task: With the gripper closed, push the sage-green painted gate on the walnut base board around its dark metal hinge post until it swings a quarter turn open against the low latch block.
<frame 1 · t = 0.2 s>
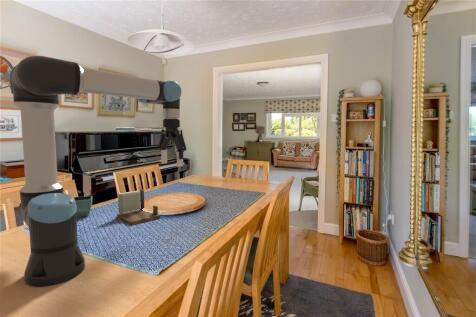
hand: (171, 164, 122), 28 cm above the table, tool pointing down, fingers open, 13 cm apart
gate: (129, 201, 134), point 7 cm above the table, hinge at 0.0°
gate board: (138, 217, 132), on the table
flower pot: (82, 215, 133), on the table
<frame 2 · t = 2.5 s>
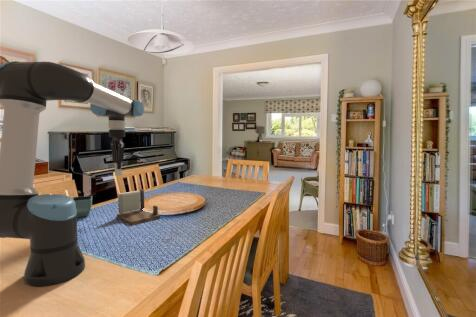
hand: (118, 175, 135), 20 cm above the table, tool pointing down, fingers closed
nothing on the table moved.
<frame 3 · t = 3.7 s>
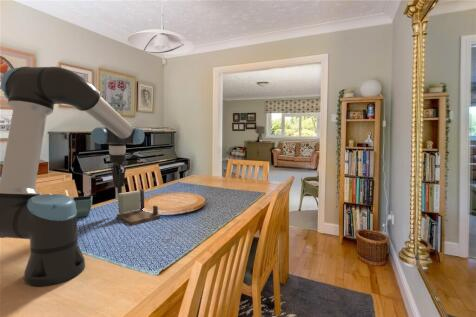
hand: (119, 199, 136), 8 cm above the table, tool pointing down, fingers closed
nothing on the table moved.
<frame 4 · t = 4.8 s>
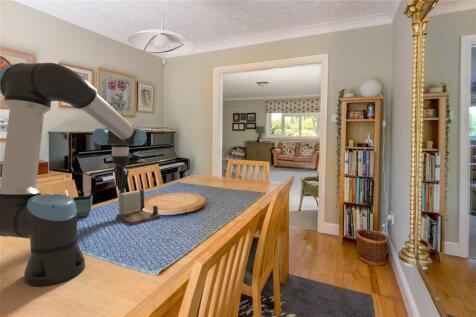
hand: (121, 201, 134), 7 cm above the table, tool pointing down, fingers closed
gate: (129, 201, 134), point 7 cm above the table, hinge at 2.7°, touching gripper
everything else where it was.
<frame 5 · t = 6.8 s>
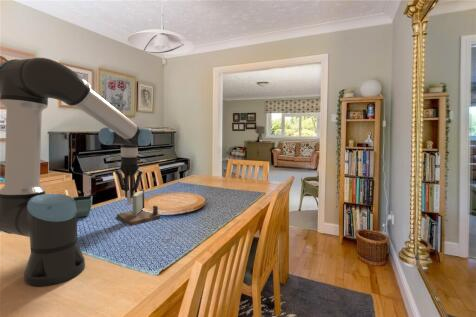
hand: (129, 204, 129), 7 cm above the table, tool pointing down, fingers closed
gate: (138, 202, 132), point 7 cm above the table, hinge at 46.9°, touching gripper
everything else where it was.
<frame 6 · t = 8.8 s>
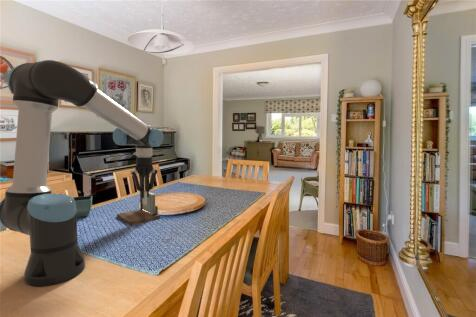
hand: (144, 203, 130), 7 cm above the table, tool pointing down, fingers closed
gate: (148, 202, 134), point 7 cm above the table, hinge at 90.1°, touching gripper
everything else where it was.
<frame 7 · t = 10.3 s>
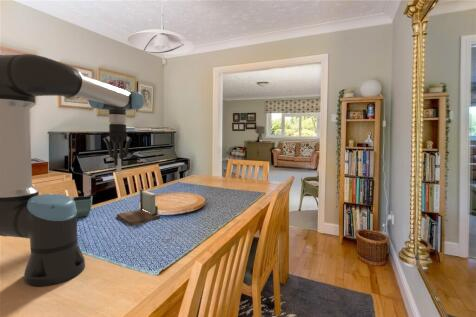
hand: (118, 171, 129), 23 cm above the table, tool pointing down, fingers closed
gate: (148, 202, 134), point 7 cm above the table, hinge at 90.1°
everything else where it was.
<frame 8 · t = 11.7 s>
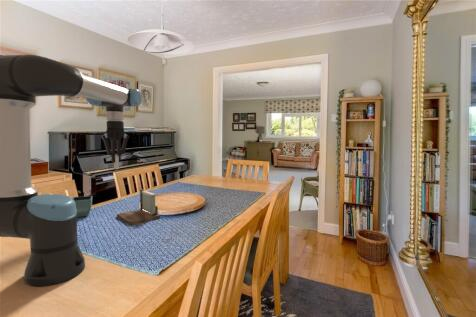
hand: (116, 168, 130), 24 cm above the table, tool pointing down, fingers closed
nothing on the table moved.
at the end: gate at +90° (first picture: +0°); flower pot moved 0.2 cm from its start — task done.
